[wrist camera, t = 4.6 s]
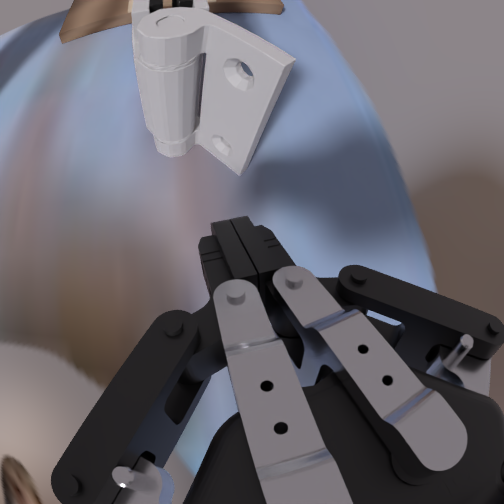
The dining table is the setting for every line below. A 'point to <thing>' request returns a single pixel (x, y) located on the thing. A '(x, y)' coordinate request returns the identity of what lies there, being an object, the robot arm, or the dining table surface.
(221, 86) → the hinge
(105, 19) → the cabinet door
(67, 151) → the dining table surface
